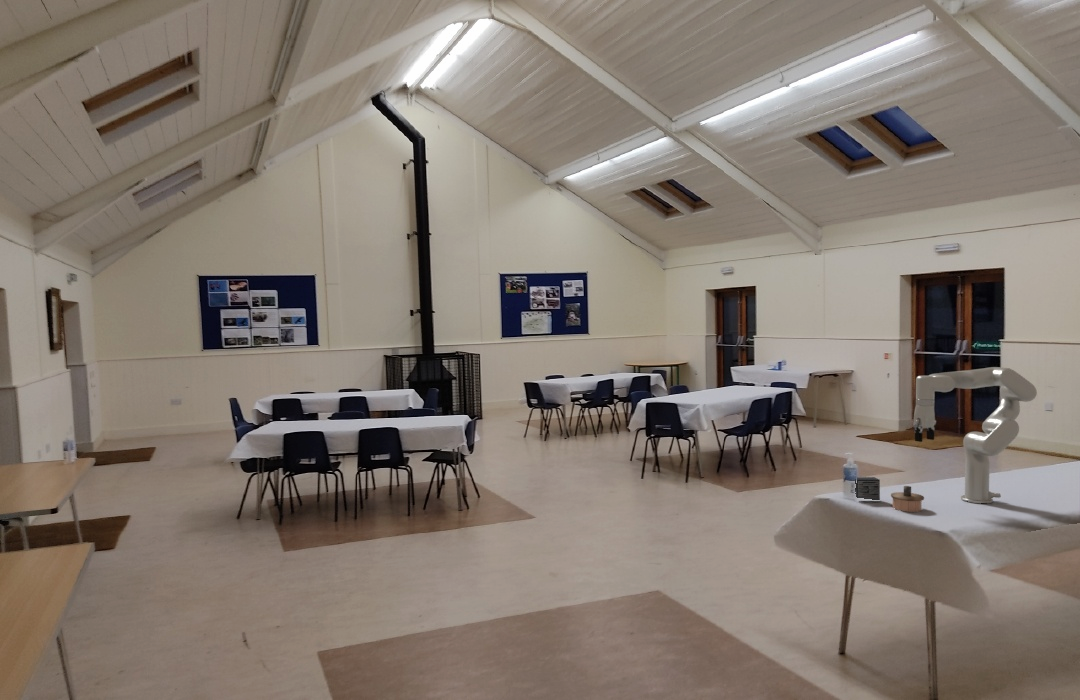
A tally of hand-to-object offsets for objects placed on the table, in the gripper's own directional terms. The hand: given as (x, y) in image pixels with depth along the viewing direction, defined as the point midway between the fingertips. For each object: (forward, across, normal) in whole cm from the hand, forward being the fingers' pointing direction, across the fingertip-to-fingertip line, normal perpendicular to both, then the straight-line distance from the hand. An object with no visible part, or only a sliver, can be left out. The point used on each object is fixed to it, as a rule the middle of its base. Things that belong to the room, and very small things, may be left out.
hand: (924, 440), depth 334 cm
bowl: (+28, +18, +2) cm, 33 cm away
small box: (+29, +18, -17) cm, 38 cm away
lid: (+23, +18, +2) cm, 29 cm away
